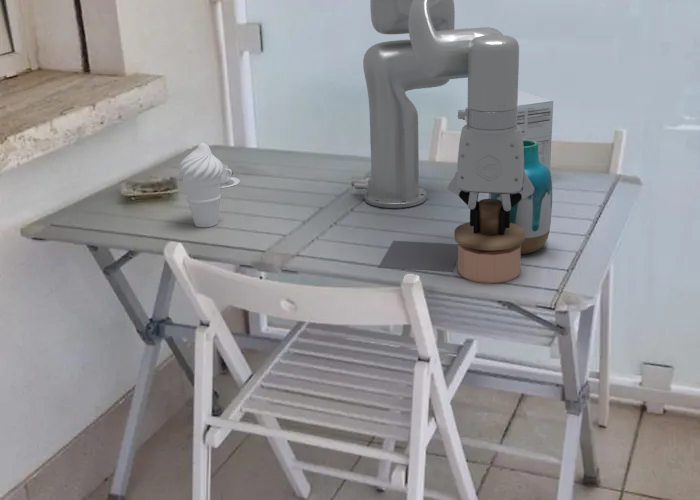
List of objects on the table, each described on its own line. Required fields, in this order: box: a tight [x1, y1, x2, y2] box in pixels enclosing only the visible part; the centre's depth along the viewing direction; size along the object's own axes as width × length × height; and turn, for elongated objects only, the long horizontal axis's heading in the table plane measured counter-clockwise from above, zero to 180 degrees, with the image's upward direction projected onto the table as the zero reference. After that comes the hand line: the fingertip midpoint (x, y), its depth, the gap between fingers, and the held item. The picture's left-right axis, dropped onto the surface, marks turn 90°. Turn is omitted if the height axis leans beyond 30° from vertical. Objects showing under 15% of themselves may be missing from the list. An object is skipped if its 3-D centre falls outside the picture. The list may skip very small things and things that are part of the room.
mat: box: [378, 240, 459, 273], centre depth 161 cm, size 12×12×1 cm
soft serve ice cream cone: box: [178, 142, 224, 228], centre depth 178 cm, size 8×8×16 cm
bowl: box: [457, 243, 522, 284], centre depth 152 cm, size 10×10×5 cm
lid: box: [453, 198, 525, 251], centre depth 150 cm, size 11×11×6 cm
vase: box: [488, 139, 553, 255], centre depth 159 cm, size 11×11×19 cm
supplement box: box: [517, 89, 554, 172], centre depth 198 cm, size 13×13×18 cm
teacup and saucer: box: [220, 164, 241, 189], centre depth 206 cm, size 9×8×4 cm
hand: (489, 230), depth 151 cm, fingers closed on lid, 3 cm apart
